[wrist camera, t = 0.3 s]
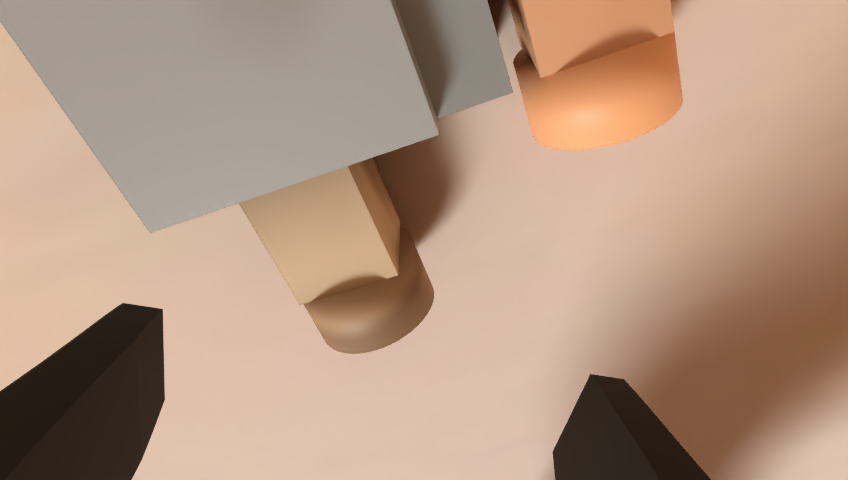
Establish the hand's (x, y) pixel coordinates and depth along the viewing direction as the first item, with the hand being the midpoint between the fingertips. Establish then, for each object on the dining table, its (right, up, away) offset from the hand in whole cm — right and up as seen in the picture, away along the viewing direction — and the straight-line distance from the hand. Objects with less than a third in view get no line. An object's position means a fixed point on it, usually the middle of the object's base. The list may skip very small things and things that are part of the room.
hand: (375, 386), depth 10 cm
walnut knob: (-2, +6, +8) cm, 10 cm away
